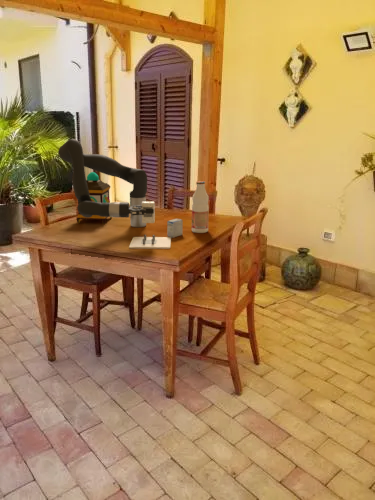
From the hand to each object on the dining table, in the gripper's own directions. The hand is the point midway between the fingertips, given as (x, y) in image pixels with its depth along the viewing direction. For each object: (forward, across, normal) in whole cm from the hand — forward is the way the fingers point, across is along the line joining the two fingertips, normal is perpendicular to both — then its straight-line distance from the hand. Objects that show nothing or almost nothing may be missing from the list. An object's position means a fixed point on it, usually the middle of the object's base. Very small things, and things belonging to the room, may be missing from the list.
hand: (153, 210), depth 203 cm
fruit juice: (+24, +25, +17) cm, 39 cm away
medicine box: (+10, +15, +17) cm, 25 cm away
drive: (-3, 0, +6) cm, 7 cm away
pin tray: (-2, 0, +17) cm, 17 cm away
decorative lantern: (-40, +49, +18) cm, 65 cm away
